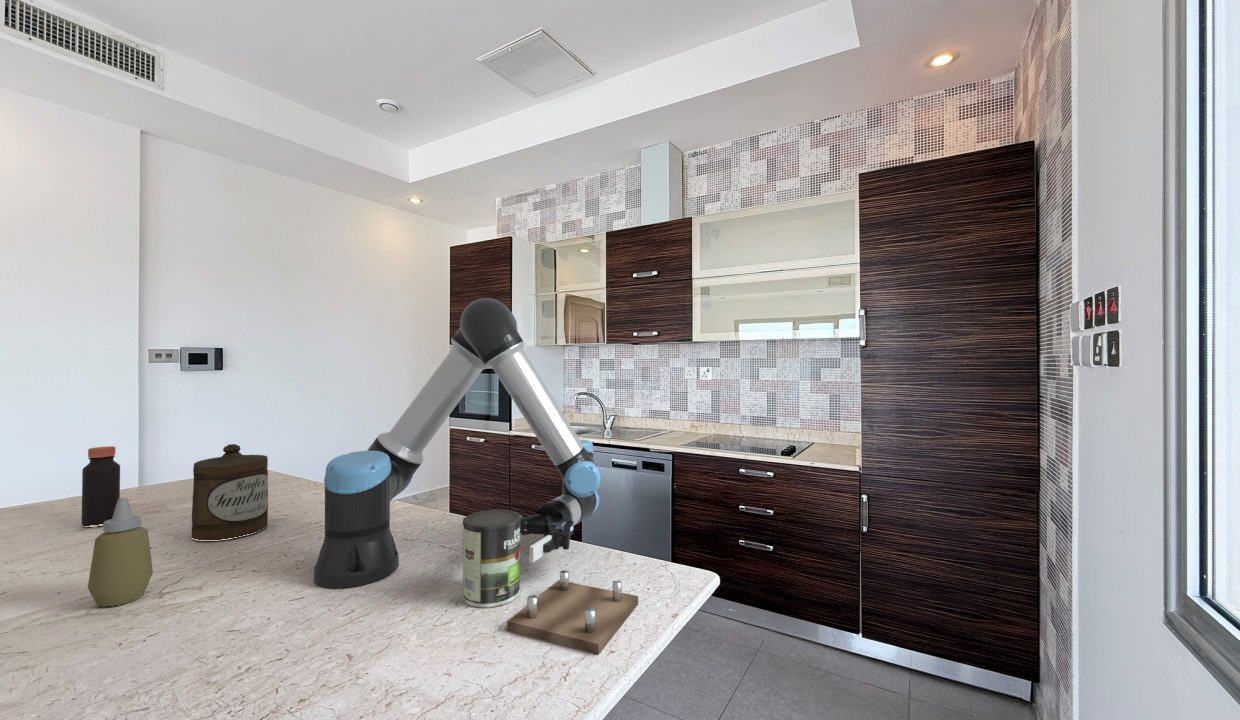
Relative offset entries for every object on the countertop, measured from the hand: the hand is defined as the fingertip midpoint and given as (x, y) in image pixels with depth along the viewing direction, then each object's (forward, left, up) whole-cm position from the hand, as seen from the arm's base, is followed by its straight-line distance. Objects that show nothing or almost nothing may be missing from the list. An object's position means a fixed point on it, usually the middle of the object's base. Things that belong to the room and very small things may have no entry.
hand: (500, 548), depth 90 cm
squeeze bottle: (-60, -30, -8) cm, 67 cm away
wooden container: (-82, -1, -8) cm, 82 cm away
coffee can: (-1, -2, -8) cm, 8 cm away
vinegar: (-120, -10, -8) cm, 120 cm away
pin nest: (+17, -3, -8) cm, 19 cm away
